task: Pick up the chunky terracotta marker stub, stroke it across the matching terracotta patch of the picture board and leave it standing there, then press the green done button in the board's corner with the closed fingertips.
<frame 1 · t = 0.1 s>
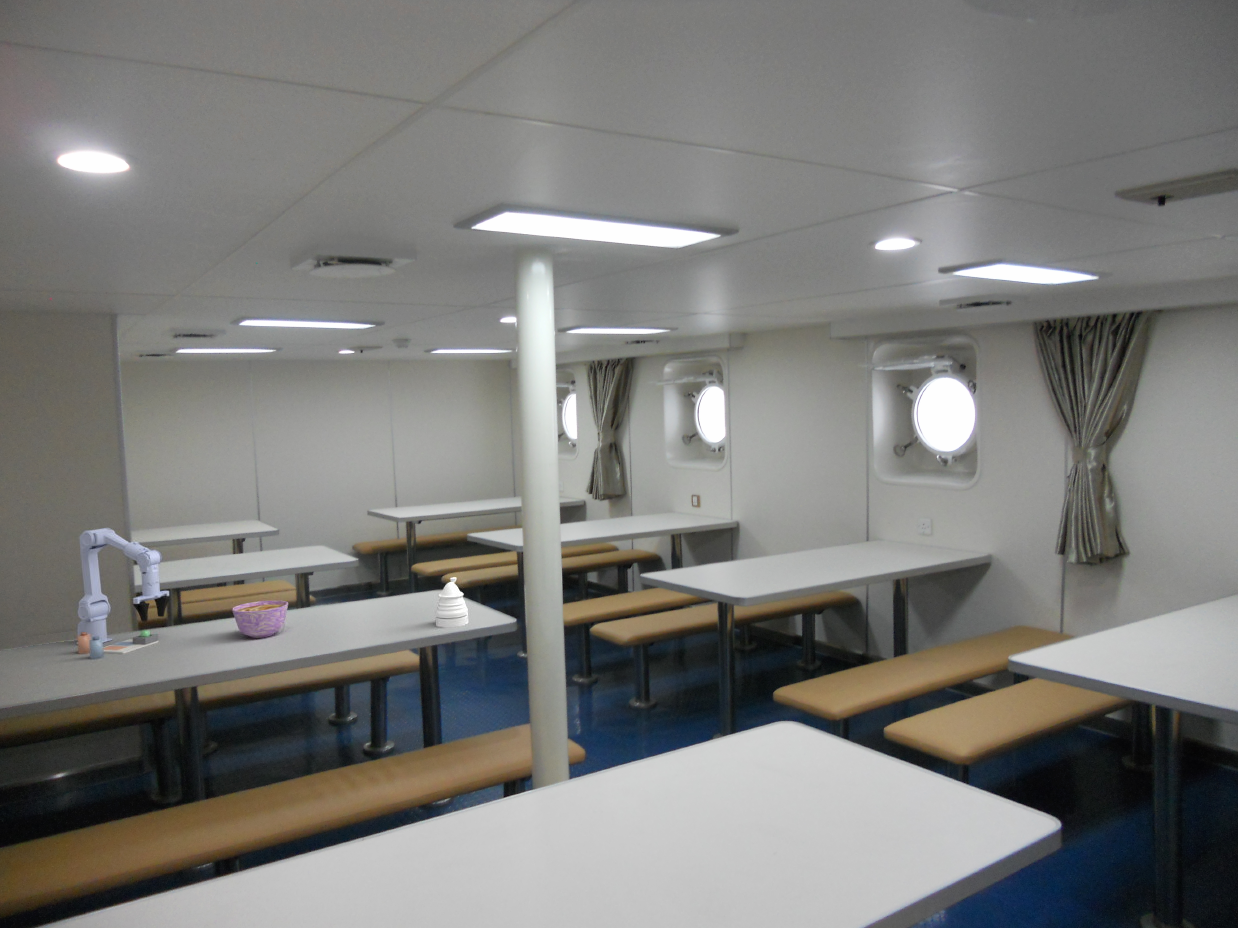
hand: (152, 618, 311), 10 cm above the table, fingers open, 7 cm apart
honey pot: (452, 623, 331), on the table
picture board: (126, 646, 311), on the table
done button: (145, 634, 314), point 3 cm above the table, slide at 0.0 cm
slate marker: (96, 657, 297), on the table
terracotta marker: (84, 652, 304), on the table
bowl of food: (262, 635, 322), on the table
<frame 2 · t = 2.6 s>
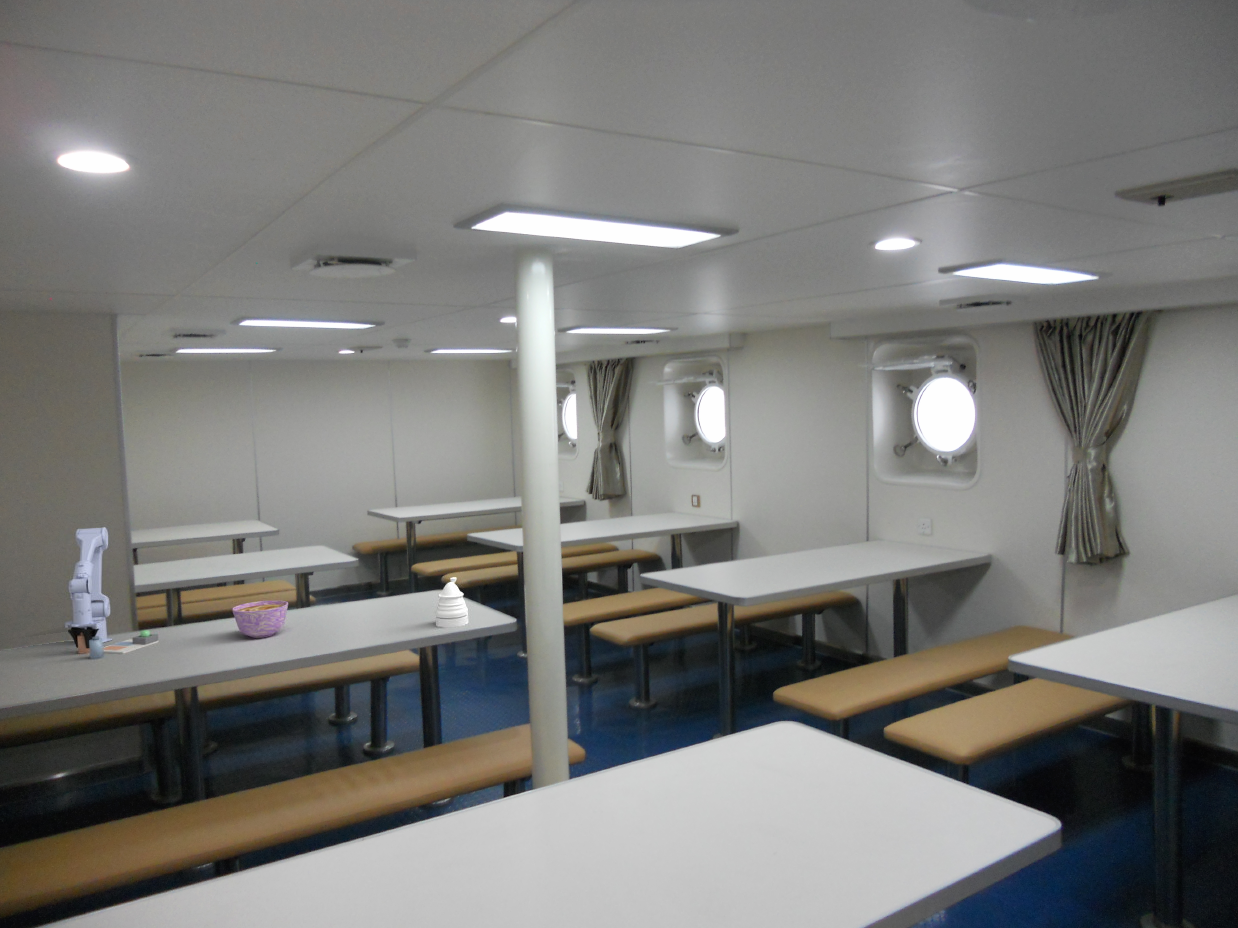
hand: (84, 647, 304), 2 cm above the table, fingers closed on terracotta marker, 4 cm apart
terracotta marker: (84, 652, 304), on the table, touching gripper
everything else where it was.
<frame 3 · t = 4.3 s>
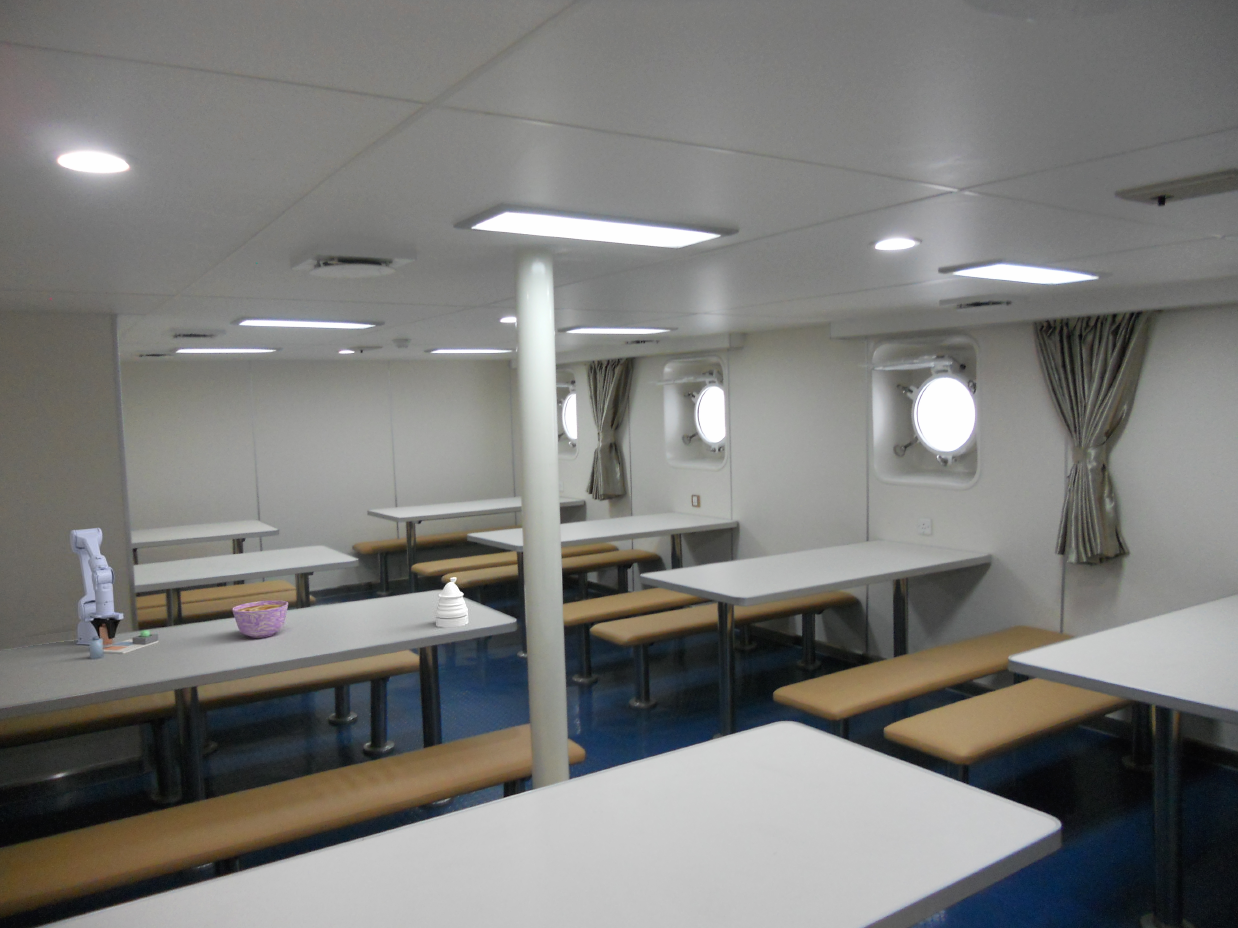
hand: (106, 637, 308), 4 cm above the table, fingers closed on terracotta marker, 4 cm apart
terracotta marker: (106, 643, 308), point 2 cm above the table, touching gripper
everything else where it was.
when the fingers open (3 cm above the table, at t = 5.9 s): terracotta marker stays where it is, resting on picture board.
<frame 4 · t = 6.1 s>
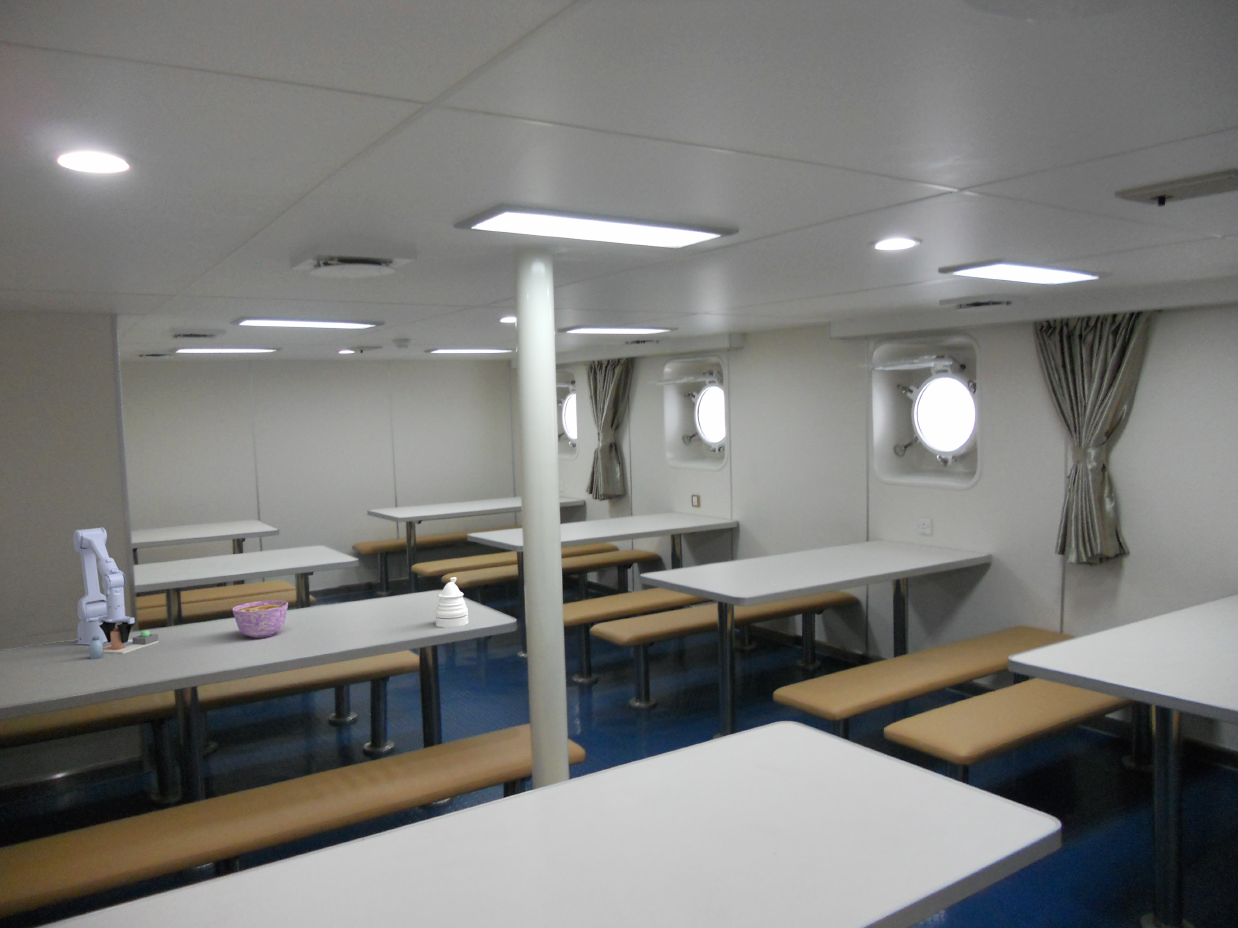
hand: (117, 642, 306), 3 cm above the table, fingers open, 6 cm apart
terracotta marker: (117, 648, 306), point 1 cm above the table, touching picture board
everything else where it was.
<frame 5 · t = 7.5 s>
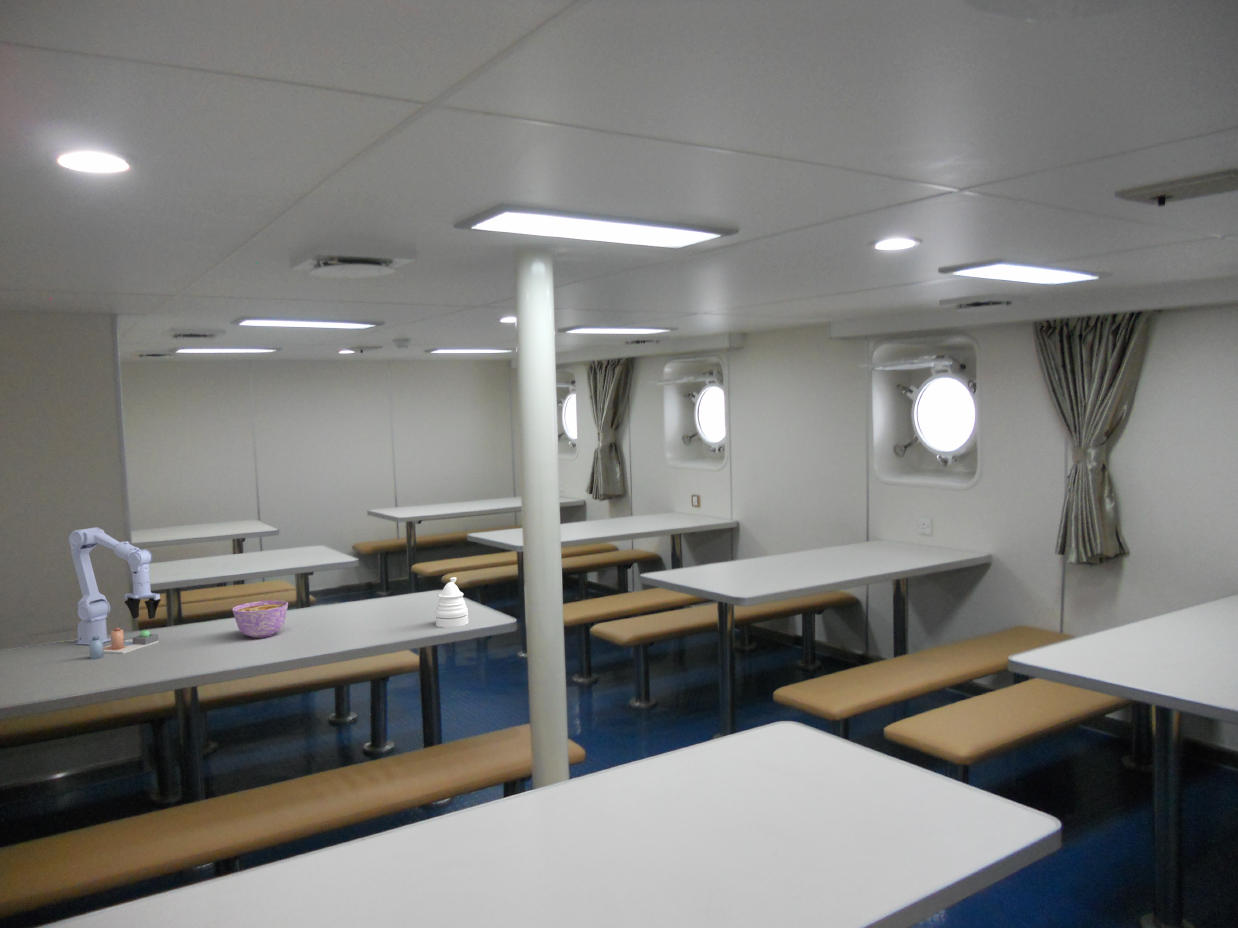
hand: (143, 618, 314), 10 cm above the table, fingers open, 7 cm apart
nothing on the table moved.
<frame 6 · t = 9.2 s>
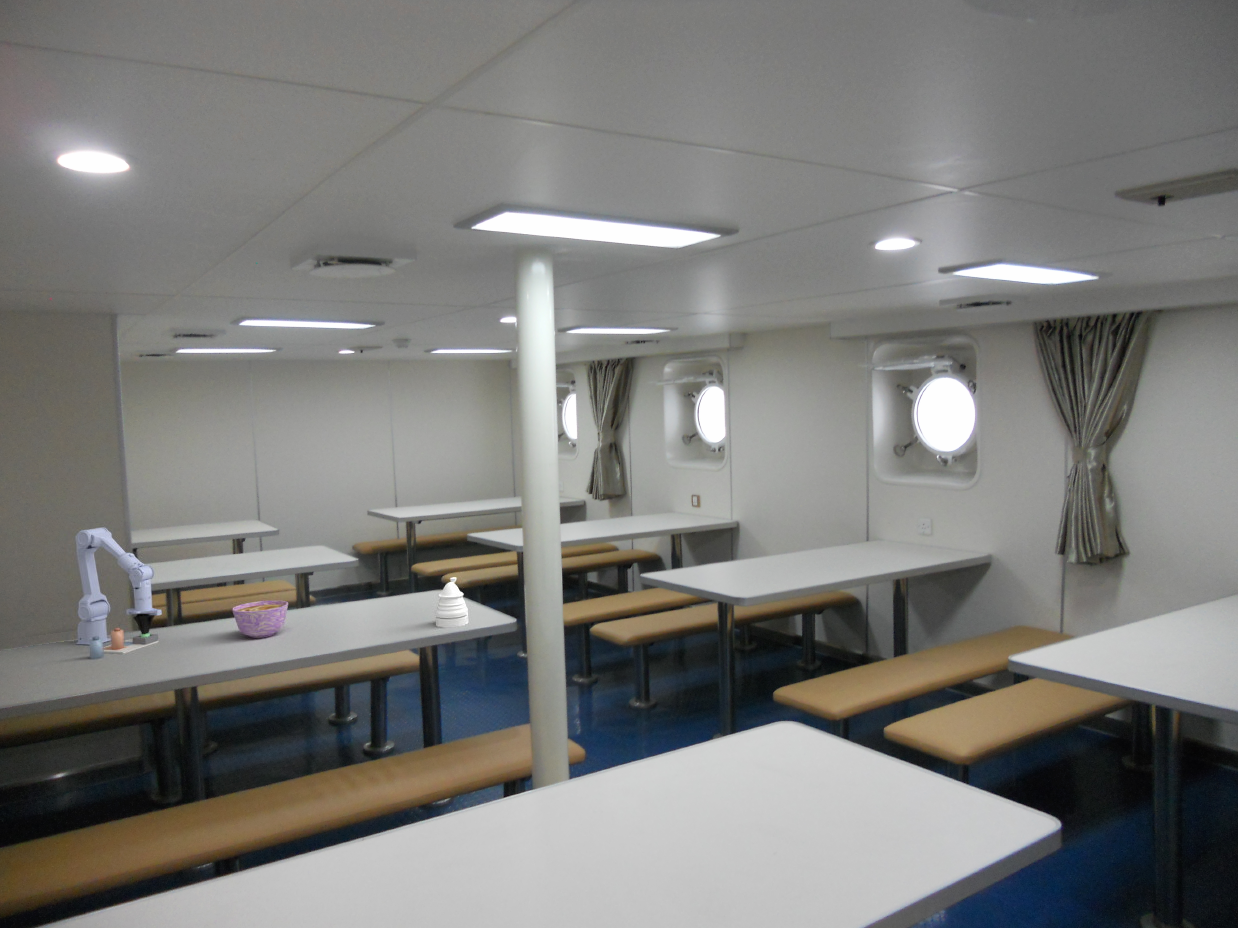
hand: (145, 633, 314), 4 cm above the table, fingers closed, pressing on done button
done button: (145, 637, 314), point 2 cm above the table, slide at 1.0 cm, touching gripper
everything else where it was.
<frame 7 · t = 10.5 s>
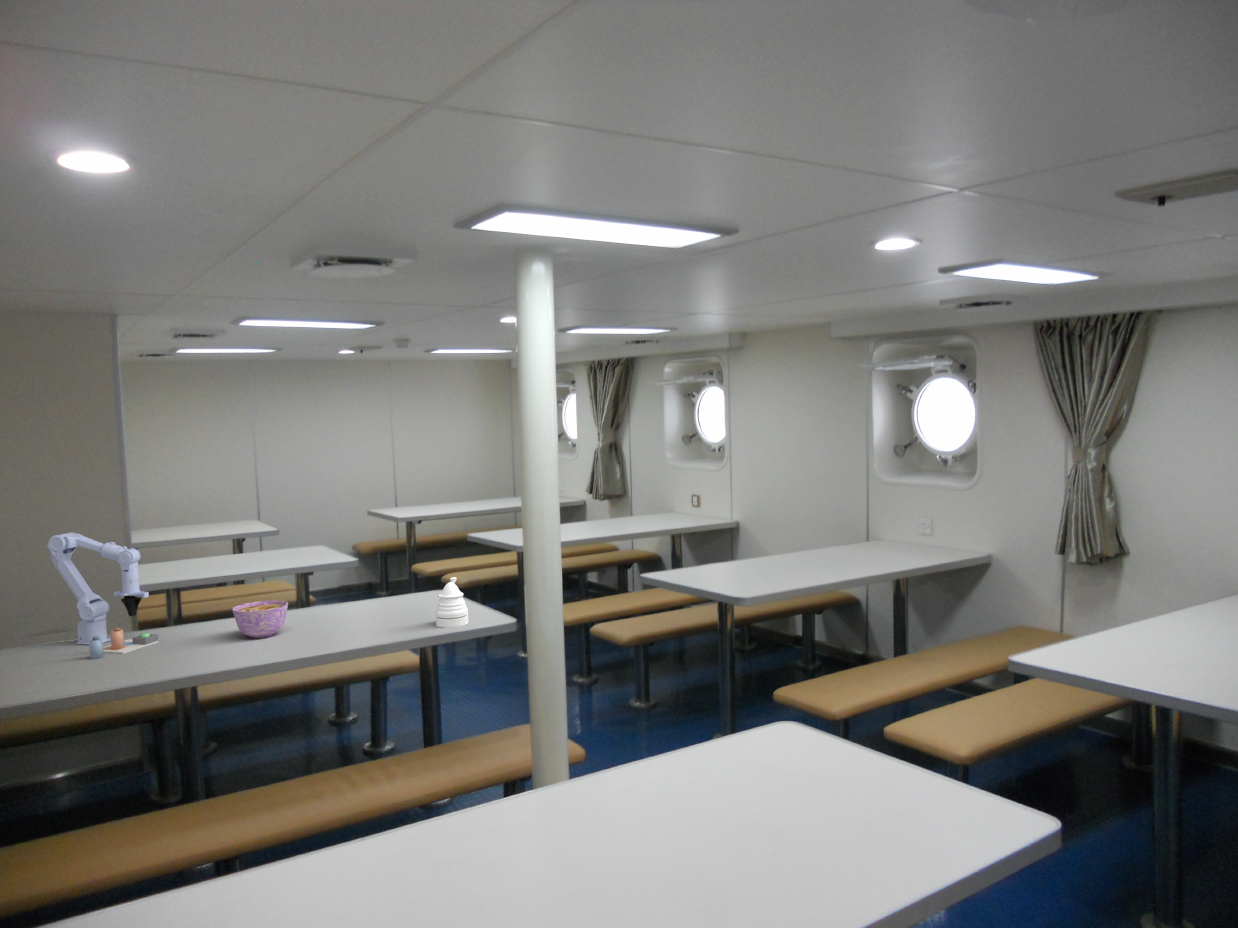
hand: (132, 615, 319), 10 cm above the table, fingers closed
done button: (145, 637, 314), point 2 cm above the table, slide at 1.0 cm
everything else where it was.
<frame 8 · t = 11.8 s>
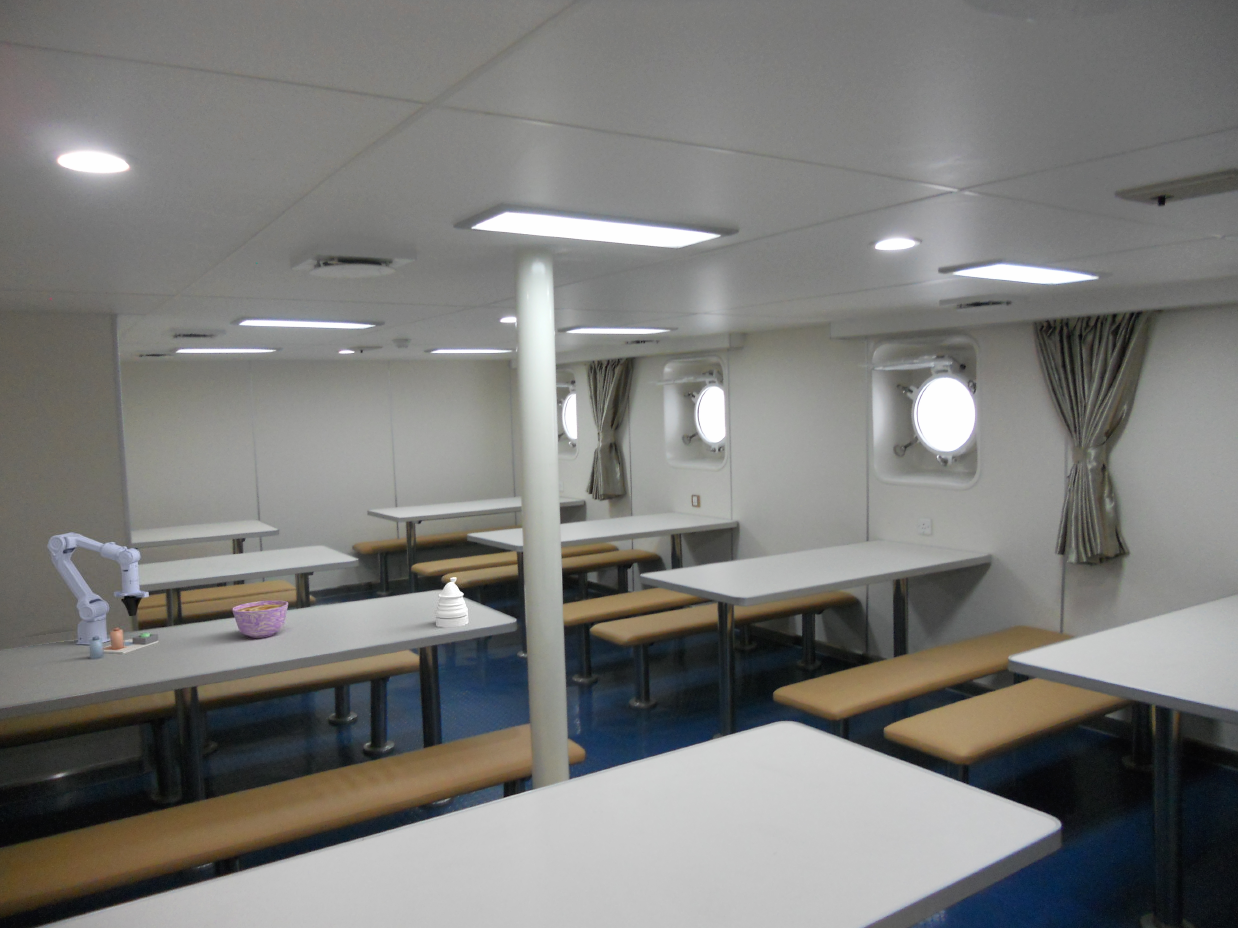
hand: (132, 615, 319), 10 cm above the table, fingers closed
nothing on the table moved.
at the end: terracotta marker inside the target area (2.0 cm from its centre), point 0.7 cm above the table; terracotta marker tilted 2°; done button slide at 1.0 cm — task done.
